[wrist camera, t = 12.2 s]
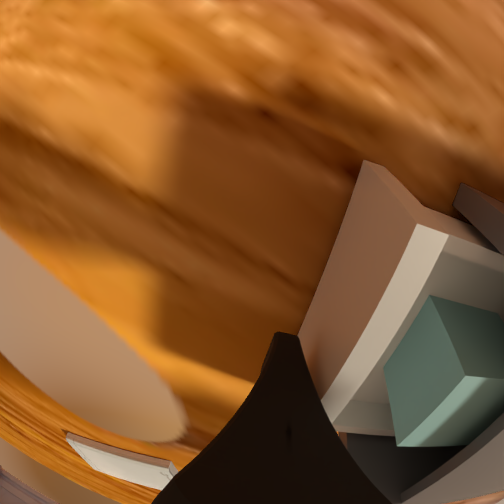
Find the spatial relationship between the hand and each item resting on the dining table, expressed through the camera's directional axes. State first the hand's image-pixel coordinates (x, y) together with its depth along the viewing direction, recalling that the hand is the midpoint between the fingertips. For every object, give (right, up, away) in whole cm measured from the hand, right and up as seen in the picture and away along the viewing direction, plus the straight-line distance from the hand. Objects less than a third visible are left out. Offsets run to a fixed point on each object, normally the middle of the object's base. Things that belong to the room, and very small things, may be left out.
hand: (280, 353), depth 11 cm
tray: (+10, -1, +3) cm, 10 cm away
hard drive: (-14, -19, +17) cm, 29 cm away
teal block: (+8, -1, +2) cm, 8 cm away
